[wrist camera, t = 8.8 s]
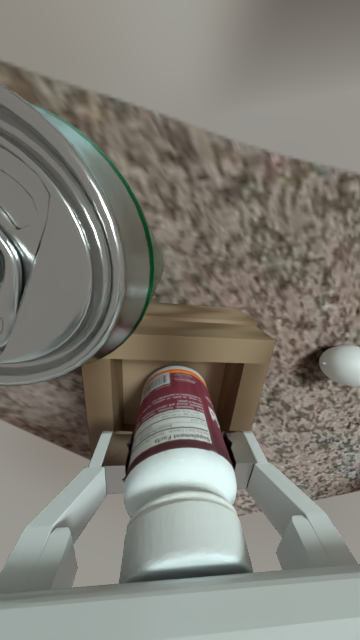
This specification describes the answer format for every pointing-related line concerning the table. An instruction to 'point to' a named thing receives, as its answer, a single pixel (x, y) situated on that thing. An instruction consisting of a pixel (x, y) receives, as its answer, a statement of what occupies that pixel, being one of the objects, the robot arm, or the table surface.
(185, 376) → the pill bottle
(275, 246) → the table surface
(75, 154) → the soda can
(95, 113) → the table surface
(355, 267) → the table surface
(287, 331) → the table surface
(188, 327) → the wooden open box
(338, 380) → the egg
